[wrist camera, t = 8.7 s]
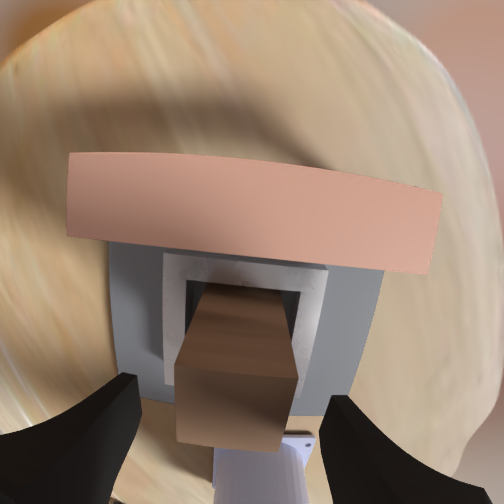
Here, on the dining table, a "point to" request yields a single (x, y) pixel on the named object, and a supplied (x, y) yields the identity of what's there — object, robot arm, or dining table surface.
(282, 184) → the socket board
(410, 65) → the dining table surface
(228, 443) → the walnut peg
